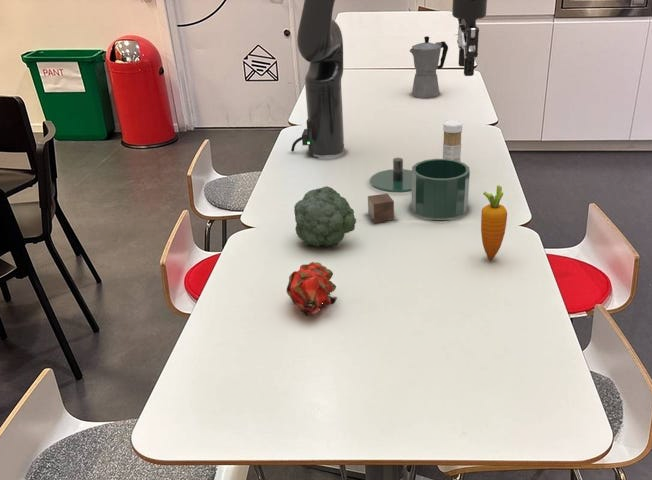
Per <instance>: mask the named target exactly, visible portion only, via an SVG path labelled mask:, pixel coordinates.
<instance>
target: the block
mask: <svg viewBox="0 0 652 480" xmlns="http://www.w3.org/2000/svg"><path fill="white" fill-rule="evenodd" d="M367 209H368V210H367V214H368V215H369V216H370V220H371V221H372V222H373V224H380V223H381V224H382V223H387V222H393V221H395V200H393V198H392V197H391V196H390V195H389V193H380V194H374V195H368V196H367Z"/></svg>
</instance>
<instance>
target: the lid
mask: <svg viewBox="0 0 652 480" xmlns="http://www.w3.org/2000/svg"><path fill="white" fill-rule="evenodd" d="M369 181H370V185H371V186H372V187H374V188H375V189H377V190H380V191H383V192H388V193H389V192H390V193H406V192H412V169H404V159H403V158H402V157H393V159H392V169H386V170H382V171H378V172H376V173H374V174H373V175H372V176H371V177H370V178H369Z"/></svg>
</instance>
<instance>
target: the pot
mask: <svg viewBox="0 0 652 480" xmlns="http://www.w3.org/2000/svg"><path fill="white" fill-rule="evenodd" d="M411 170H412V191H411V210H412V211H413V212H414V213H415V214H416V215H418V216H421V217H422V218H428V219H431V221H432V222H447V221H448V222H449V219H453V218H457V217H460V216H462V215H464V214H465V213H466V212H467V211H468V208H469V207H468V206H469V193H470V192H469V189H470V173H471V170H470V167H469V166H468V165H467V164H466V163H465V162H463V161H460V162H459V161H456V160H450V159H443V158H431V159H425V160H421V161H419V162H416V163H414V165H412V167H411Z"/></svg>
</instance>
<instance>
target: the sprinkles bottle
mask: <svg viewBox="0 0 652 480" xmlns="http://www.w3.org/2000/svg"><path fill="white" fill-rule="evenodd" d="M442 130H443V143H442V159H450V160H456V161H459V162H461V157H462V133H463V132H462V131H463V122H462V121H460V120H459V119H458V120H457V119H449V120H448V119H447V120H445V121H444V122H443V125H442Z"/></svg>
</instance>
